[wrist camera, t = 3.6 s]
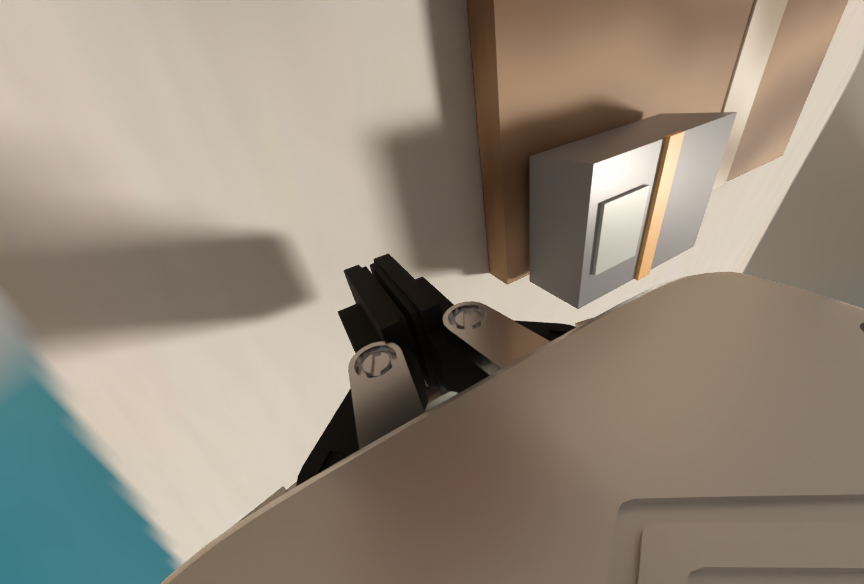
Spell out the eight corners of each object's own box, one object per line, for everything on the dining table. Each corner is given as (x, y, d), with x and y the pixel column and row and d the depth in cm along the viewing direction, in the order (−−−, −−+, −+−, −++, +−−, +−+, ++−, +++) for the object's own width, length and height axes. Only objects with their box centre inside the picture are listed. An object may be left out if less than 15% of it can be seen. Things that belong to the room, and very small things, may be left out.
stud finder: (529, 154, 12) (597, 163, 10) (660, 112, 15) (742, 110, 12) (529, 281, 16) (580, 311, 13) (636, 230, 18) (696, 248, 16)
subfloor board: (417, -601, 6) (459, -792, 5) (939, -327, 14) (1008, -372, 12) (489, 273, 17) (508, 285, 16) (757, 154, 25) (784, 155, 23)
